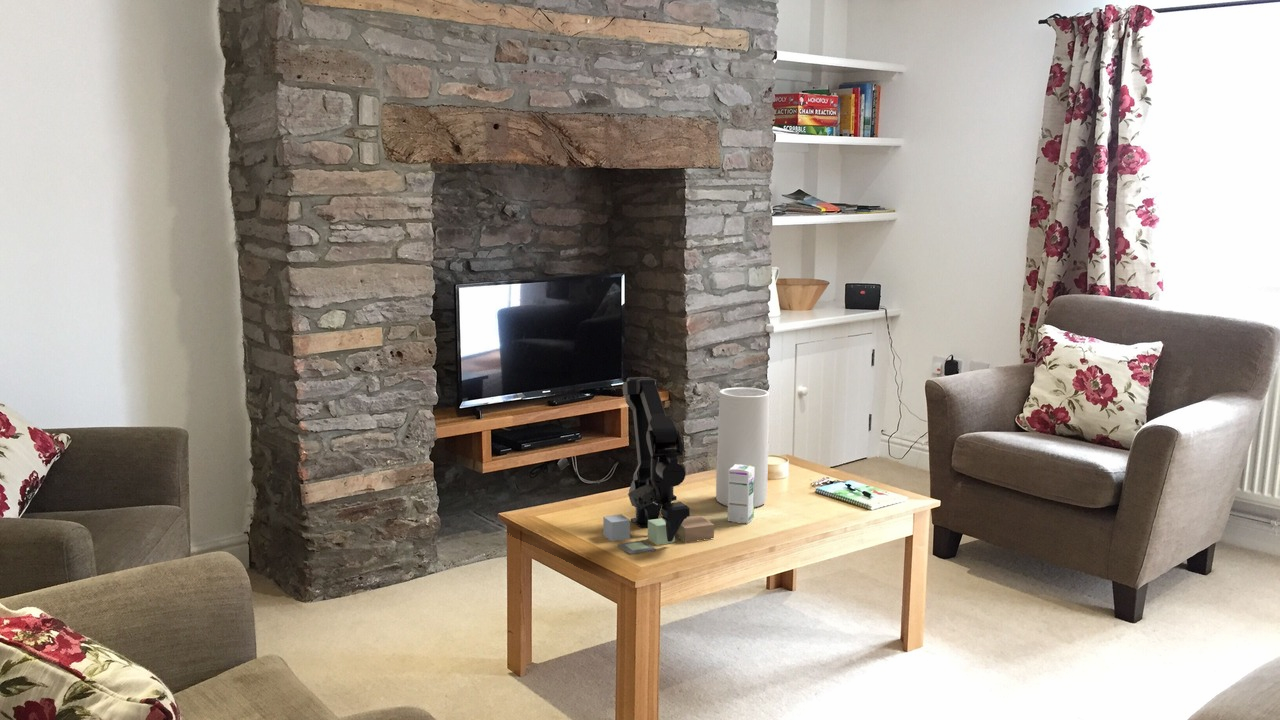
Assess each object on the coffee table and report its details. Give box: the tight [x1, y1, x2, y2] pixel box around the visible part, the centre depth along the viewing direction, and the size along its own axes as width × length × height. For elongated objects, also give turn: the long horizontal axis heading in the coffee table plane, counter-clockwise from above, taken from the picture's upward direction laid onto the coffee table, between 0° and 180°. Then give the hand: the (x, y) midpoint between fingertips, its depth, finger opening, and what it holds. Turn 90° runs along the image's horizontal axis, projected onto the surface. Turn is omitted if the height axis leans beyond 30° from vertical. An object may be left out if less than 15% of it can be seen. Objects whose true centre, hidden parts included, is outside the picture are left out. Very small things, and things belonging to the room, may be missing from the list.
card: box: [617, 539, 657, 555], centre depth 251 cm, size 7×7×1 cm
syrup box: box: [727, 464, 755, 525], centre depth 273 cm, size 6×6×14 cm
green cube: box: [647, 517, 676, 546], centre depth 257 cm, size 5×5×5 cm
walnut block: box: [675, 515, 715, 544], centre depth 261 cm, size 8×8×4 cm
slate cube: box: [602, 513, 631, 542], centre depth 259 cm, size 5×5×5 cm
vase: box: [715, 387, 770, 508], centre depth 288 cm, size 14×14×32 cm
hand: (661, 535), depth 257 cm, fingers open, 9 cm apart
